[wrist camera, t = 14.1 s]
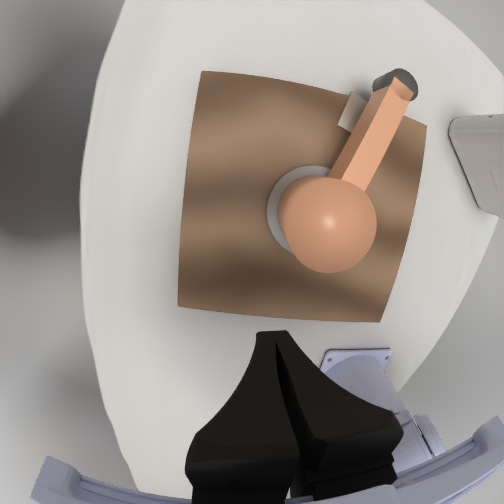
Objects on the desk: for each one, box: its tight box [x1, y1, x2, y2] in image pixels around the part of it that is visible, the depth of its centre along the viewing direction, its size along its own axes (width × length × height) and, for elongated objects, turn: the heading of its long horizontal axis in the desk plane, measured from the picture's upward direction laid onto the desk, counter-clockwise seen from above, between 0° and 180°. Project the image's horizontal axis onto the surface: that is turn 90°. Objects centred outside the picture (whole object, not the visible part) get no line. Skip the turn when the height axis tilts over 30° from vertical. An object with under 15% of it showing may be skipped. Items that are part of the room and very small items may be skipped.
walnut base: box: [178, 71, 427, 322], centre depth 19 cm, size 18×18×2 cm
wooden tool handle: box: [277, 69, 418, 273], centre depth 15 cm, size 14×5×4 cm, turn 152°
